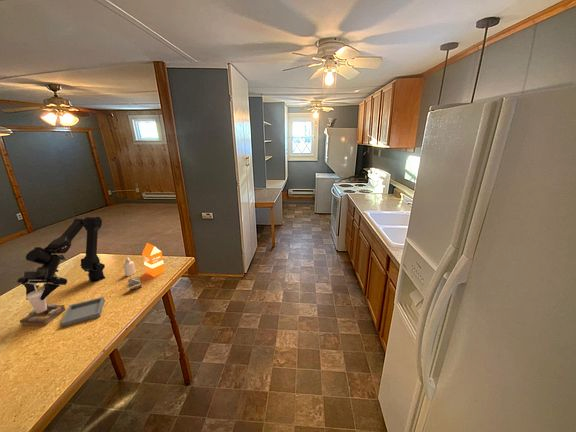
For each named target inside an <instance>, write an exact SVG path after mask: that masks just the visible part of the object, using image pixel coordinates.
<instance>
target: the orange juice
mask: <svg viewBox="0 0 576 432" xmlns="http://www.w3.org/2000/svg"><path fill="white" fill-rule="evenodd" d="M142 258H143V264H144V265H143V266H144V268H145V273H146V274H147V275H150V276H151V277H154V278H155V277H157V276H159V275H161V274H164V273H165V271H166V269H165V263H164V258H163V252H162V250H160V249H158V247H156V246H155V245H153V244H151V243H148V242H147V243H146V244H145V247H144V248H143V251H142Z"/></svg>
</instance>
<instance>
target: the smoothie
mask: <svg viewBox="0 0 576 432" xmlns="http://www.w3.org/2000/svg"><path fill="white" fill-rule="evenodd" d="M36 285H37V284H36ZM36 285H34V287H35V290H36V291H33V292H30V293H29V294H27V295H26V294H25V300H26V299H28V300H27V301H29V304H30V305H31V307H32V309H33V310H35V312H36V313H41V312H44V311H46V310H47V305H48V304H47V297H46V298H45V299H44V300H40V299H41V296H42V293H43V291H44V289H38V288H37V287H36ZM44 313H45V312H44Z"/></svg>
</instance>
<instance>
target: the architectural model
mask: <svg viewBox="0 0 576 432" xmlns="http://www.w3.org/2000/svg"><path fill="white" fill-rule="evenodd" d="M127 284H128V285H126V289H127V290H128V289H129V290H133V289H139V288H142V282H141V280H140V276H139V275H138V276H133V277H130V278H127Z"/></svg>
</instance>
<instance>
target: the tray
mask: <svg viewBox="0 0 576 432" xmlns="http://www.w3.org/2000/svg"><path fill="white" fill-rule="evenodd" d="M104 297H105V296H101V297H97V298H93V299H89V300H84V301H81V302H77V303H73V304H70V305H69V304H68V306H67V309H66V310H65V311H66V312H65V313H64V316H63V317H62V320H61V322H60V325H61V328H65V327H69V326H72V325H75V324H76V325H77V324H80V323H84V322H87V321H91V320H94V319H97V318H100V317H101V314H102V312H103V308H104V304H105V298H104Z"/></svg>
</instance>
